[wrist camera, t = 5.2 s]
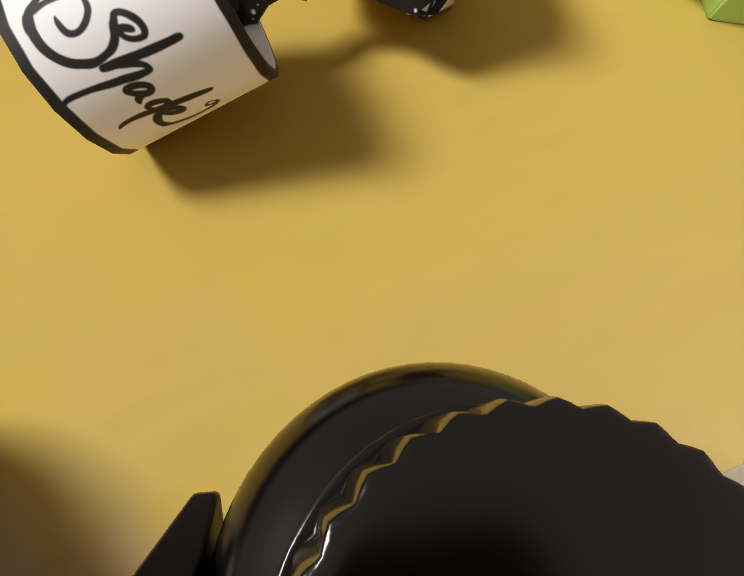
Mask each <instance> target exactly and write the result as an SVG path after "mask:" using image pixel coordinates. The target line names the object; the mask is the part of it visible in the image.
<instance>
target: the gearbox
mask: <svg viewBox="0 0 744 576" xmlns="http://www.w3.org/2000/svg"><path fill="white" fill-rule="evenodd" d="M702 3H703V6H704V9H705V12H706V15H707V18H710V19H713V20H717V21H723V22H730V23H738V24H744V0H702Z"/></svg>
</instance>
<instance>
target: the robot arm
mask: <svg viewBox="0 0 744 576" xmlns="http://www.w3.org/2000/svg"><path fill="white" fill-rule="evenodd" d="M222 524H223V513H222V505H221V498H220V494H219V493H218V492H216V491H212V492H199V493H195V494H194V495H193V496H192V497H191V498H190V499H189V501H188V502H187V503H186V505H185V506H184V507H183V509H182V510H181V511H180V513H179V514H178V515H177V517H176V518H175V519H174V521H173V522H172V524H171V525H170V526H169V528H168V529H167V530H166V532H165V533H164V534H163V536H162V537H161V538H160V540H159V541H158V542H157V544H156V545H155V546H154V548H153V549H152V551H151V552H150V553H149V555H148V556H147V557H146V559H145V560H144V561H143V563H142V564H141V565H140V567H139V568H138V569H137V571H136V572H135V573H134V575H133V576H208V570H209V567H210V563H211V559H212V555H213V551H214V548H215V544H216V541H217V538H218V535H219V533H220V530H221V527H222Z"/></svg>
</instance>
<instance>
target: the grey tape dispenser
mask: <svg viewBox="0 0 744 576" xmlns="http://www.w3.org/2000/svg"><path fill="white" fill-rule="evenodd" d="M276 1H278V0H0V34H1V36H2V38H3V40H4V41H5V43H6V45H7V46H8V48H9V50H10V51H11V53H12V55H13V57H14V58H15V60H16V62H17V63H18V65H19V67H20V69H21V70H22V72H23V73H24V75H25V76H26V77H27V78H28V79H29V81H30V82H31V83H32V84H33V85H34V87H35V88H36V89H37V90H38V92H39V93H40V94H41V95H42V96H43V98H44V99H45V100H46V101H47V102H48V104H49V105H50V106H51V107H52V109H53V110H54V111H55V112H56V113H57V114H58V115H60V116H61V117H62V118H63V119H64V120H65V121H66V122H68V123H69V124H70V125H71V126H72V127H73V128H74V129H75V130H77V131H78V132H79V133H80V134H81V135H82V136H83V137H85V138H86V139H87V140H89V141H91V142H92V143H94V144H96V145H98V146H100V147H102V148H103V149H105V150H107V151H109V152H111V153H113V154H131V153H133V152H135V151H137V150H139V149H141V148H143V147H145V146H147V145H148V144H150V143H152V142H154V141H156V140H158V139H160V138H162V137H164V136H166V135H167V134H169V133H171V132H173V131H175V130H177V129H179V128H181V127H183V126H185V125H186V124H188V123H190V122H192V121H194V120H196V119H198V118H200V117H202V116H204V115H205V114H207V113H209V112H211V111H213V110H215V109H217V108H219V107H221V106H223V105H224V104H226V103H228V102H230V101H232V100H234V99H236V98H238V97H240V96H242V95H243V94H245V93H247V92H249V91H251V90H253V89H255V88H257V87H259V86H261V85H262V84H264V83H266V82H268V81H270V80H272V79H274V78H276V77H278V70H279V68H278V65H277V62H276V59H275V56H274V53H273V50H272V48H271V45H270V43H269V41H268V38H267V36H266V33H265V31H264V29H263V26H262V24H261V22H260V18H261V17H262V15H263V14H264V12H265V10H266V9H267V7H268V6H269V5H271V4H272V3H274V2H276ZM304 1H307V0H304ZM377 1H378V2H380V3H382V4H385V5H388V6H391V7H393V8H396V9H398V10H400V11H402V12H404V13H406V14H409V15H411V16H417V17H419V18H421V19H423V20H424V21H426V20H428V19H430V18H432V17H434V16H436V15H438V14H440V13H442V12H444V11H446V10H448V9H450V8H451V7H452V6H453V4H454V1H455V0H377Z"/></svg>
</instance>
